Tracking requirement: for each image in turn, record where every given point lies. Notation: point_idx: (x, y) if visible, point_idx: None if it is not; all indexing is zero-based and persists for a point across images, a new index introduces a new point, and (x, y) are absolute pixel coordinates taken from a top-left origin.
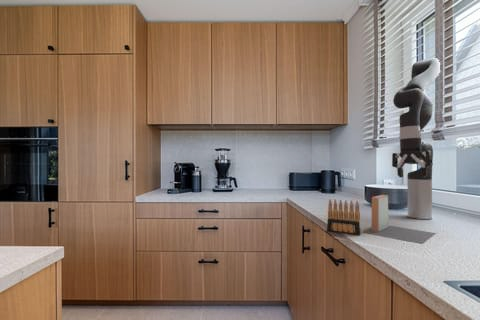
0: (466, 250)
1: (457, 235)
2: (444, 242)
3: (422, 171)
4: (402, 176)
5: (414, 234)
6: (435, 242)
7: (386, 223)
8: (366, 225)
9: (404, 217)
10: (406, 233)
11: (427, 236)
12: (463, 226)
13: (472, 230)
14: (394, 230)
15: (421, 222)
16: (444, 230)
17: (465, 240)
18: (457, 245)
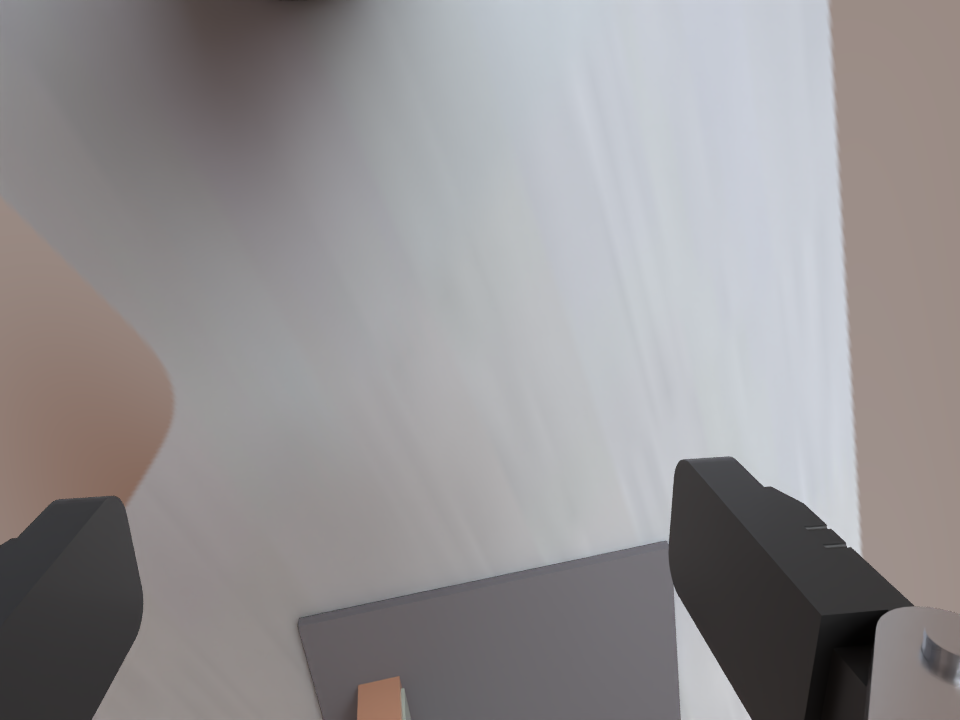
0: None
1: (762, 437)
2: None
3: (755, 683)
4: (116, 530)
5: (592, 690)
6: (707, 699)
7: None
8: (230, 692)
9: (177, 28)
10: (551, 707)
11: (659, 670)
12: (744, 22)
13: (818, 155)
14: (467, 704)
15: (430, 175)
16: (668, 354)
17: None
18: None
